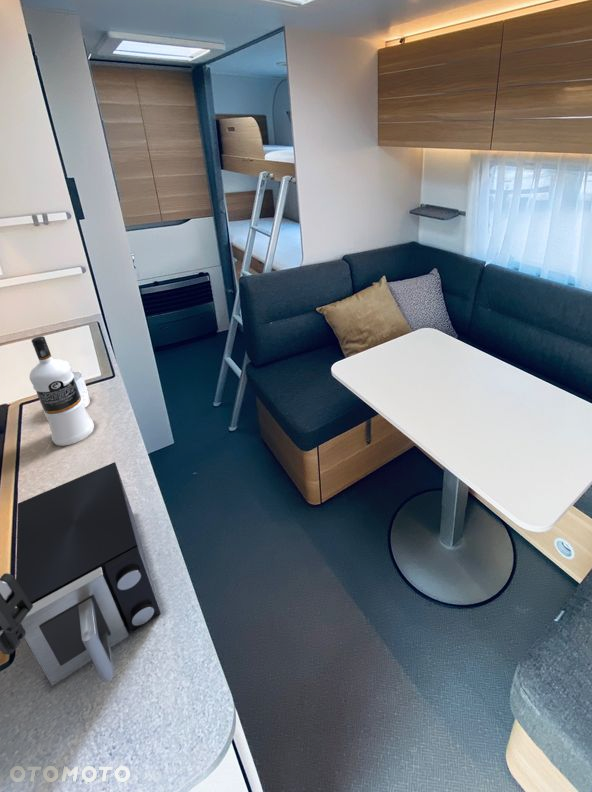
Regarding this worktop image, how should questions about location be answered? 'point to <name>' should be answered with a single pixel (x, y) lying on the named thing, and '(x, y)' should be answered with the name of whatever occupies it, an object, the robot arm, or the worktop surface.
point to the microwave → (85, 543)
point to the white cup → (81, 387)
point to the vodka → (59, 397)
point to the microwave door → (76, 628)
